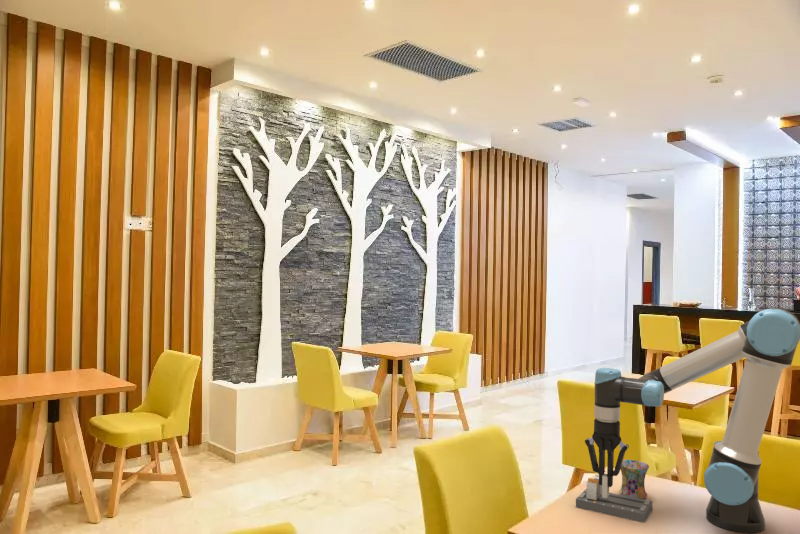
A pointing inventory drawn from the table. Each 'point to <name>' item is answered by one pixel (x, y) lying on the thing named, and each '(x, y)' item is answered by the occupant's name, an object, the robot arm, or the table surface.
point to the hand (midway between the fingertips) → (605, 496)
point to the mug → (633, 478)
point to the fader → (593, 489)
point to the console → (616, 505)
